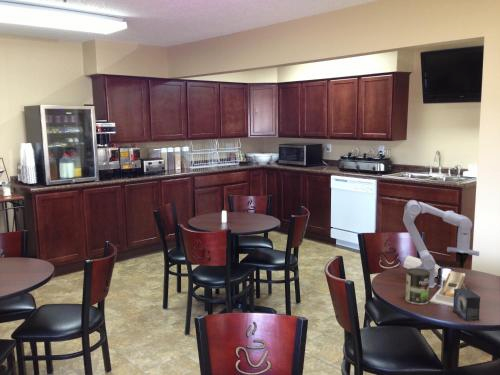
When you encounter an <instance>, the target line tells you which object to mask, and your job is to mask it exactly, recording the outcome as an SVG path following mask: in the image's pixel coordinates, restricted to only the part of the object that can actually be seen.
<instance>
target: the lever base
mask: <svg viewBox="0 0 500 375" xmlns="http://www.w3.org/2000/svg"><path fill="white" fill-rule="evenodd" d="M445 281H446V279H443V280H442V285H441V286H440V288H439V289H438V290H437V291H436V292H435V294H434V295H433V296H432V297H431V298H430V300H429V303H430V304H436V305H440V306H444V307H445V306H446V307H448V308H453V304H454V303H450V302H445V301H441V300H436V294H437V293H438V292H439V291H440V290H441V291H442V288H443V286H444V283H445ZM461 288H466V283H463V284H462V285H461Z"/></svg>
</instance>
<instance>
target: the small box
mask: <svg viewBox="0 0 500 375" xmlns="http://www.w3.org/2000/svg"><path fill="white" fill-rule="evenodd" d="M480 303H481V296H479V294H477V293H475V292H474V291H472V290H470V289H469V288H467V287H465V288H462V287H461V288H460V289H454V304H453V307H452V308H453V310H452V311H453V312H454V313H455V314H457V315H458V316H459V317H460V318H461V319H462V320H464V321H465V322H467V321H468V322H469V321H473V322H474V321H479V320H480V307H481V306H480V305H481V304H480Z"/></svg>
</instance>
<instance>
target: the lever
mask: <svg viewBox="0 0 500 375" xmlns="http://www.w3.org/2000/svg"><path fill="white" fill-rule="evenodd" d="M465 277H466V273H465V272H458V271H453V270H449V273H448V275H447V277H446V279H445V280H446V281H445V283H444V286H443V288H442V293H446V292H450V293H451V294H452V295H454V289H460V288H462V284H465V283H464V282H465Z"/></svg>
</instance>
